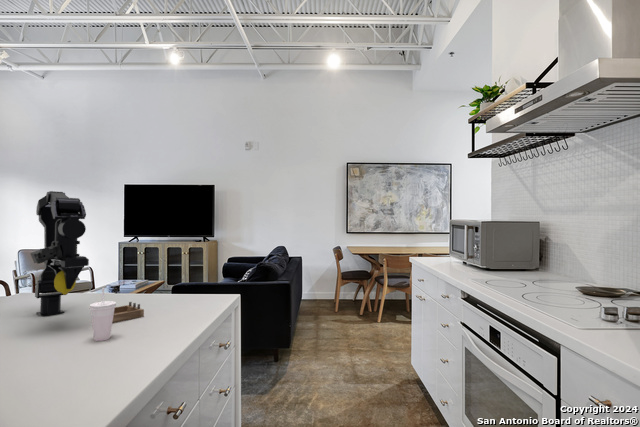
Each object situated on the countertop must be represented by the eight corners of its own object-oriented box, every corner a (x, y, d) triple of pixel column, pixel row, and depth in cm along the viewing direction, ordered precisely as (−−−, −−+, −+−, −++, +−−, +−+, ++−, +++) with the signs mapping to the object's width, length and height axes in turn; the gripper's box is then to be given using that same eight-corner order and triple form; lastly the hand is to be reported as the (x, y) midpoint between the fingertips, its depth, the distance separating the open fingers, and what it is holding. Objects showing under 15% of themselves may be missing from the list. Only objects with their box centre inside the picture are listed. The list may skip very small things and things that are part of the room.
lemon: (64, 296, 106) (64, 270, 106) (48, 296, 107) (49, 269, 107) (80, 293, 111) (80, 268, 111) (65, 292, 112) (66, 267, 113)
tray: (94, 318, 118) (94, 306, 118) (128, 311, 127) (128, 300, 127) (109, 324, 111) (109, 311, 111) (143, 316, 120) (143, 305, 120)
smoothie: (86, 343, 93) (88, 290, 93) (89, 336, 99) (91, 287, 99) (114, 340, 96) (116, 288, 96) (116, 333, 102) (117, 285, 102)
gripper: (24, 237, 109) (22, 288, 108) (45, 239, 98) (43, 296, 97) (66, 236, 118) (65, 283, 117) (90, 238, 107) (88, 290, 106)
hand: (65, 288), depth 109 cm, fingers closed on lemon, 5 cm apart
